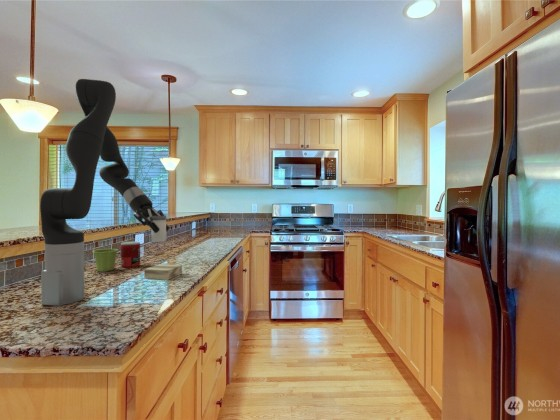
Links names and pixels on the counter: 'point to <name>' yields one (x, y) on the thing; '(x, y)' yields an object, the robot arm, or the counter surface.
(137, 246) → the canned food
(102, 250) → the plant pot
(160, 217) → the spice jar
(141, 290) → the counter surface
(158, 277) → the maple base
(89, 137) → the robot arm
